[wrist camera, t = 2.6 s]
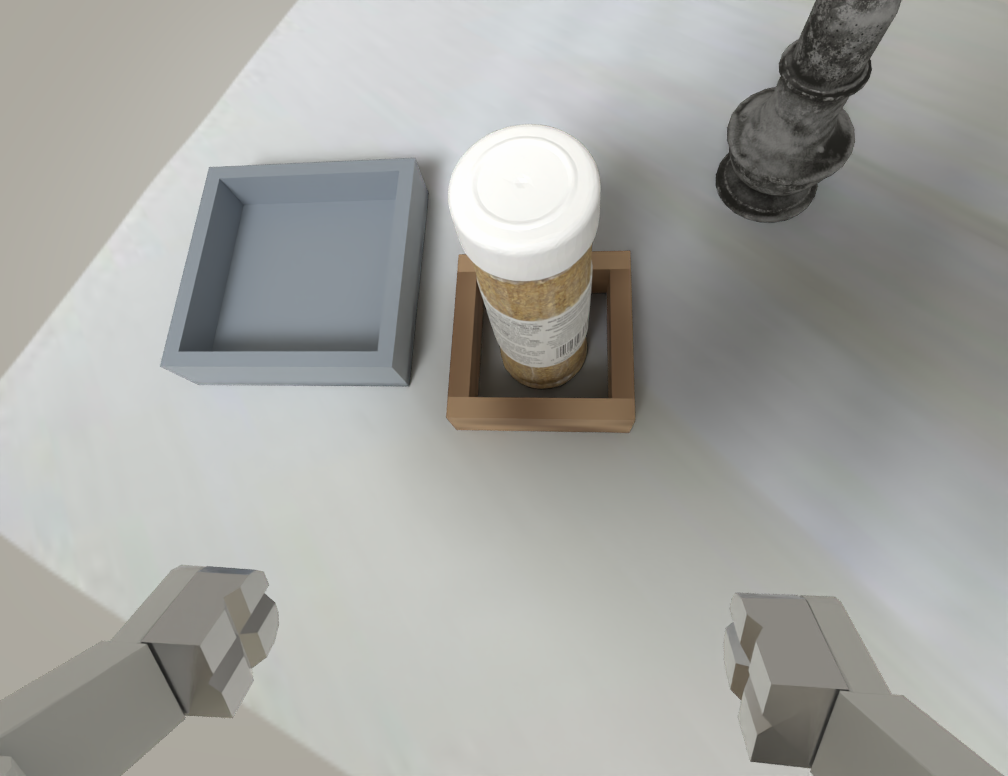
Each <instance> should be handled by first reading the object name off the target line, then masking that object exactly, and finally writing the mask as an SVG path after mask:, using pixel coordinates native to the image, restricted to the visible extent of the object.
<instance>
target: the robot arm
mask: <svg viewBox="0 0 1008 776" xmlns="http://www.w3.org/2000/svg"><path fill="white" fill-rule="evenodd" d="M268 586H269V583H268V581H267V578H266V576H265V573H264V572H263V571H258V570H249V569H236V568H223V567H210V566H206V567H205V566H191V565H180V566H178V567H177V568H175V569H173V570H171V571H170V572H169V574H168V575H167V576H166V577H165V578H164V579H163V581H162V582H161V583H160V584H159V585H158V586H157V587H156V589H155V590H154V591H153V592H152V593H151V594H150V596H149V597H148V598H147V599H146V600H145V601H144V602H143V604H142V605H141V606H140V607H139V608H138V609H137V611H136V612H135V613H134V614H133V615H132V616H131V618H130V619H129V620H128V621H127V622H126V623H125V624H124V626H123V627H122V628H121V629H120V630H119V632H118V633H117V634H116V635H115V636H114V637H113V638H112V639H111V641H101V642H99V643H97V644H96V645H94V646H92V647H90V648H89V649H87V650H85V651H84V652H82V653H80V654H79V655H77V656H75V657H74V658H72V659H70V660H68V661H67V662H65V663H63V664H62V665H60V666H58V667H57V668H55V669H53V670H52V671H50V672H48V673H46V674H45V675H43V676H41V677H39V678H38V679H36V680H35V681H33V682H31V683H29V684H28V685H26V686H24V687H22V688H21V689H19V690H17V691H16V692H14V693H12V694H11V695H9V696H7V697H5V698H4V699H2V700H0V776H121V775H122V774H123V773H125V772H126V771H127V770H128V769H129V768H130V767H131V766H133V765H134V764H135V763H136V762H137V761H138V760H139V759H141V758H142V757H143V756H144V755H145V754H146V753H147V752H148V751H150V750H151V749H152V748H153V747H154V746H155V745H156V744H157V743H159V742H160V741H161V740H162V739H163V738H164V737H166V736H167V735H168V734H169V733H170V732H171V731H172V730H173V729H175V728H176V727H177V726H178V725H179V724H180V723H181V722H183V721H184V720H185V716H203V717H221V718H233V717H234V715H235V714H236V712H237V710H238V708H239V706H240V705H241V703H242V701H243V699H244V697H245V696H246V694H247V692H248V690H249V688H250V687H251V685H252V683H253V681H254V679H253V672H252V668H253V667H254V666H256V665H257V664H258V663H260V662H261V661H262V660H264V659H265V658H266V657H267V656H268V654H269V652H270V650H271V648H272V646H273V644H274V642H275V639H276V635H277V631H278V627H279V614H278V610H277V606H276V603H275V602H274V601H273V600H272V599H270V598H269V597H268V596H267V595H266V594H265V591H266V589H267V588H268ZM730 612H731V616H732V619H733V623H731V624H730V625H729V626H728V627H726V629H725V636H724V642H723V645H724V663H725V669H726V675H727V679H728V683H729V686H730V690H731V691H732V692H733V693H734V694H735V695H736V696H737V697H738V698H739V699H740V700H741V705H740V709H739V714H738V720H739V723H740V727H741V731H742V734H743V738H744V741H745V745H746V748H747V752H748V756H749V759H750V762H758V763H767V764H775V765H784V766H793V767H802V768H811V771H810V772H811V773H812V774H813V776H1004V775H1002V774H1001V773H1000V772H999V771H997V770H996V769H995V768H994V767H992V766H991V765H990V764H989V763H987V762H986V761H985V760H984V759H982V758H981V757H980V756H979V755H977V754H976V753H975V752H974V751H972V750H971V749H970V748H969V747H967V746H966V745H965V744H964V743H962V742H961V741H960V740H959V739H957V738H956V737H955V736H954V735H952V734H951V733H950V732H949V731H947V730H946V729H945V728H944V727H942V726H941V725H940V724H939V723H937V722H936V721H935V720H934V719H932V718H931V717H930V716H929V715H927V714H926V713H925V712H924V711H922V710H921V709H920V708H919V707H917V706H916V705H915V704H914V703H912V702H911V701H910V700H909V699H907V698H906V697H905V696H903V695H895V694H892V693H891V691H890V690H889V688H888V686H887V684H886V682H885V681H884V679H883V677H882V675H881V673H880V671H879V670H878V668H877V666H876V664H875V662H874V661H873V659H872V657H871V655H870V653H869V652H868V650H867V648H866V646H865V644H864V642H863V641H862V639H861V637H860V635H859V633H858V632H857V630H856V628H855V626H854V624H853V622H852V621H851V619H850V617H849V615H848V613H847V612H846V610H845V608H844V606H843V604H842V603H841V602H840V601H839V600H838V599H837V598H836V597H828V596H805V595H801V596H798V595H786V594H759V593H735V594H734V595H733V597H732V599H731V604H730Z"/></svg>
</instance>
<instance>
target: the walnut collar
mask: <svg viewBox="0 0 1008 776" xmlns="http://www.w3.org/2000/svg"><path fill="white" fill-rule="evenodd" d="M591 260H592V285H591V293H607V352H608V398H514V397H478V390H479V374H480V357H481V340H482V324H483V307H484V301H483V298H482V295H481V292H480V289H479V286H478V283H477V275H476V272H475V269H474V266H473V263H472V261H471V260H470V258H469V257H468V256H467V255H466V254H461V255H459V258H458V271H457V284H456V297H455V310H454V323H453V336H452V349H451V362H450V374H449V387H448V400H447V413H446V418H447V419H448V420H449V421H450V423H451V424H452V425H453V426H454V427H455V428H456V430H497V431H556V432H616V433H630V430H631V428H632V426H633V424H634V422H635V392H634V358H633V324H632V291H631V257H630V251H593V252H591Z"/></svg>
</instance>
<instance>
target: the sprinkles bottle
mask: <svg viewBox="0 0 1008 776" xmlns="http://www.w3.org/2000/svg"><path fill="white" fill-rule="evenodd" d="M600 199H601V182H600V175H599V171H598V168H597V165H596V163H595V161H594V159H593V157H592V155H591V154H590V153H589V151H588V150H587V149H586V148H585V146H584V145H583V144H582V143H581V142H579V141H578V140H577V139H576V138H574V137H573V136H571V135H570V134H568V133H566V132H564V131H561V130H559V129H557V128H554V127H550V126H545V125H536V124H524V125H515V126H510V127H506V128H503V129H500V130H497V131H494V132H492V133H490V134H488V135H487V136H485V137H483V138H482V139H480V140H479V141H477V142H476V143H475V144H474V145H472V146H471V147H470V148H469V149H468V150H467V151H466V152H465V153H464V155H463V156H462V157H461V158H460V160H459V161H458V163H457V165H456V167H455V168H454V171H453V173H452V176H451V179H450V183H449V189H448V203H449V209H450V213H451V216H452V220H453V224H454V227H455V230H456V232H457V235H458V238H459V241H460V244H461V246H462V248H463V250H464V252H465V253H466V255H467V256H468V257H469V258H470V260H471V261H472V263H473V266H474V269H475V272H476V275H477V283H478V286H479V289H480V292H481V295H482V298H483V301H484V304H485V307H486V310H487V313H488V317H489V320H490V323H491V325H492V328H493V331H494V334H495V337H496V340H497V342H498V344H499V346H500V352H501V357H502V360H503V364H504V366H505V369H506V370H507V371H508V372H509V373H510V374H511V376H512V377H513V378H514V379H516V380H517V381H518V382H519V383H521V384H523V385H526V386H528V387H530V388H538V389H545V388H553V387H557V386H560V385H562V384H564V383H566V382H567V381H568V380H570V379H572V378H573V377H574V376H575V374H576V373H577V372H579V370H580V369H581V367H582V365H583V363H584V360H585V358H586V354H587V339H586V334H587V330H588V322H589V310H590V298H591V285H592V260H591V252H592V243H593V240H594V238H595V236H596V233H597V229H598V224H599V216H600Z"/></svg>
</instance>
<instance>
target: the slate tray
mask: <svg viewBox="0 0 1008 776" xmlns="http://www.w3.org/2000/svg"><path fill="white" fill-rule="evenodd" d="M428 195H429V193H428V190H427V188H426V185H425V183H424V180H423V177H422V175H421V172H420V169H419V167H418V164H417V162H416V159H415V158H401V159H379V160H357V161H335V162H312V163H290V164H268V165H246V166H224V167H209V170H208V174H207V178H206V182H205V186H204V190H203V194H202V198H201V202H200V206H199V210H198V214H197V218H196V223H195V227H194V231H193V235H192V239H191V243H190V247H189V251H188V255H187V259H186V263H185V267H184V271H183V275H182V279H181V283H180V287H179V292H178V296H177V300H176V304H175V308H174V312H173V316H172V320H171V324H170V328H169V332H168V336H167V340H166V344H165V348H164V352H163V356H162V361H161V365H160V367H162V368H164V369H166V370H169V371H171V372H173V373H175V374H177V375H179V376H181V377H183V378H185V379H187V380H189V381H192V382H194V383H196V384H198V385H290V386H409V385H410V375H411V365H412V355H413V345H414V335H415V325H416V315H417V305H418V295H419V285H420V275H421V265H422V255H423V245H424V235H425V225H426V215H427V205H428Z"/></svg>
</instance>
